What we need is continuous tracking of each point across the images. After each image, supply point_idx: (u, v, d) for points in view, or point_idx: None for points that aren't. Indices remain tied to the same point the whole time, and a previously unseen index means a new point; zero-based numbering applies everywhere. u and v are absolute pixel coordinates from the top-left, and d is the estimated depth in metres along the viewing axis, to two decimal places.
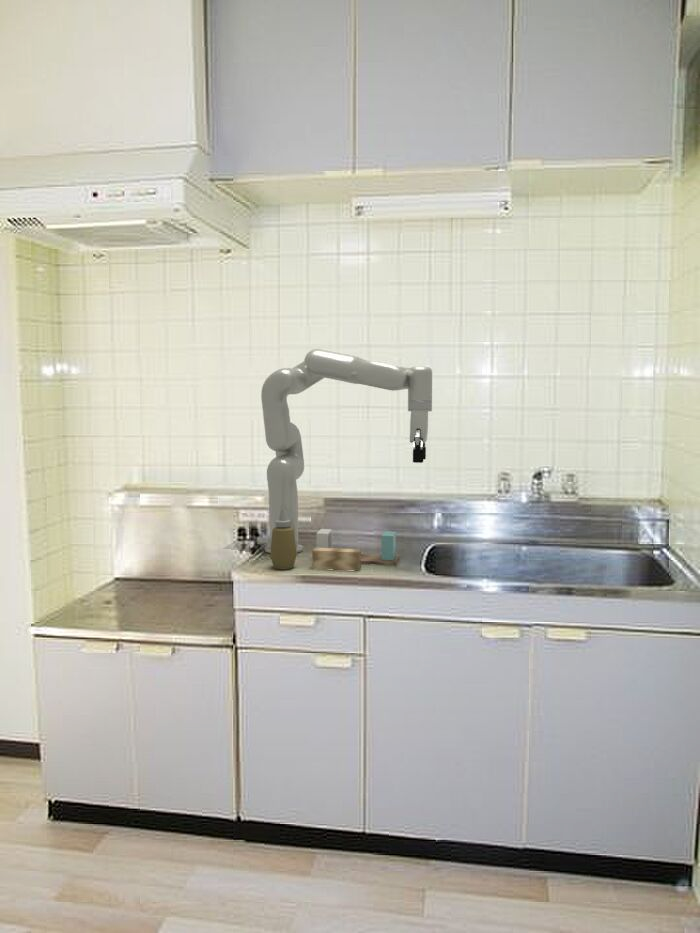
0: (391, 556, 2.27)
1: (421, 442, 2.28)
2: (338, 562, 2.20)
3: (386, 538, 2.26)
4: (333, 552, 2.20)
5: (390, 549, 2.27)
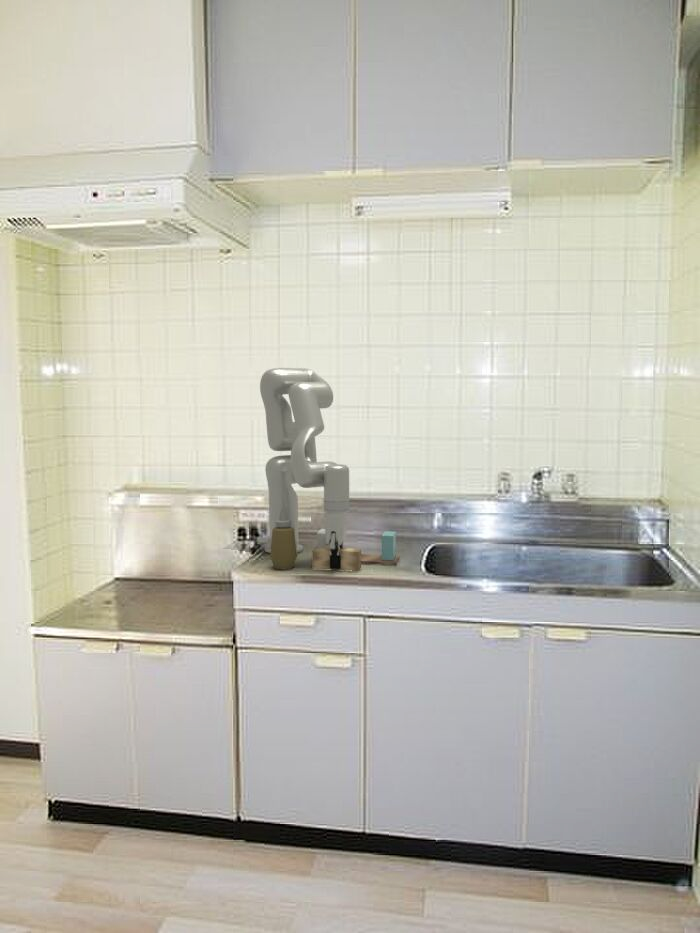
0: (391, 556, 2.27)
1: (337, 548, 2.18)
2: None
3: (386, 538, 2.26)
4: None
5: (390, 549, 2.27)
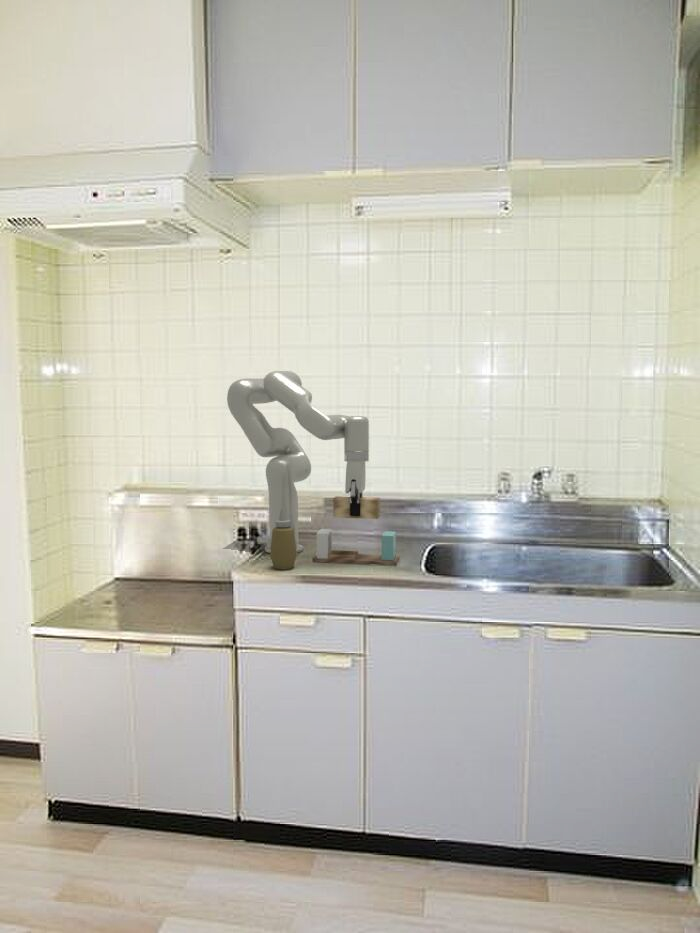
0: (391, 556, 2.27)
1: (357, 496, 2.27)
2: None
3: (386, 538, 2.26)
4: None
5: (390, 549, 2.27)
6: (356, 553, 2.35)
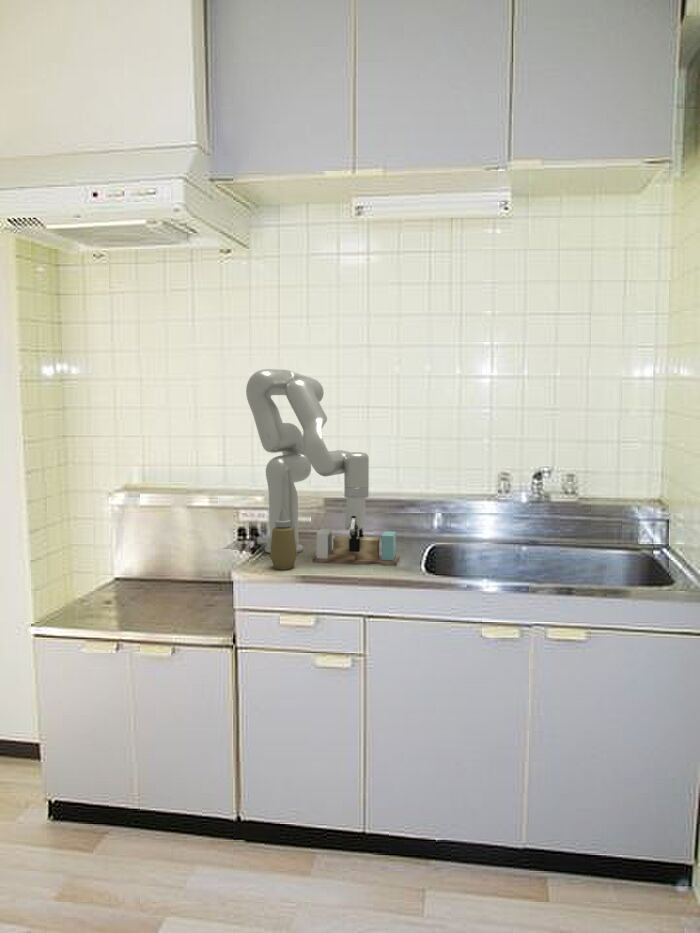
0: (391, 556, 2.27)
1: (357, 531, 2.27)
2: None
3: (386, 538, 2.26)
4: None
5: (390, 549, 2.27)
6: None
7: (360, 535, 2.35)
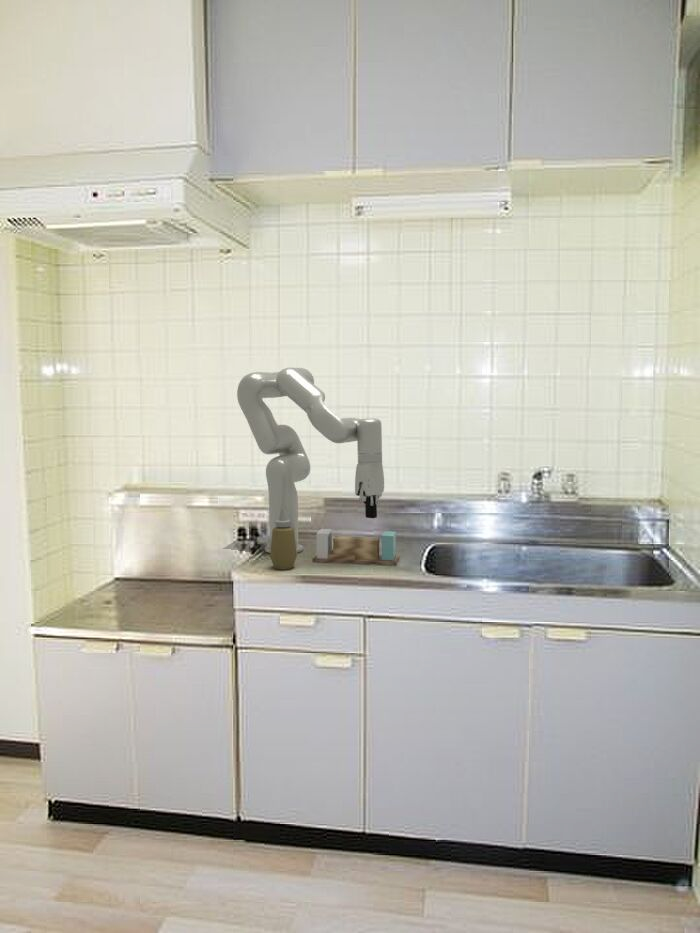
0: (391, 556, 2.27)
1: (369, 499, 2.27)
2: (358, 549, 2.30)
3: (386, 538, 2.26)
4: (353, 540, 2.30)
5: (390, 549, 2.27)
6: None
7: None
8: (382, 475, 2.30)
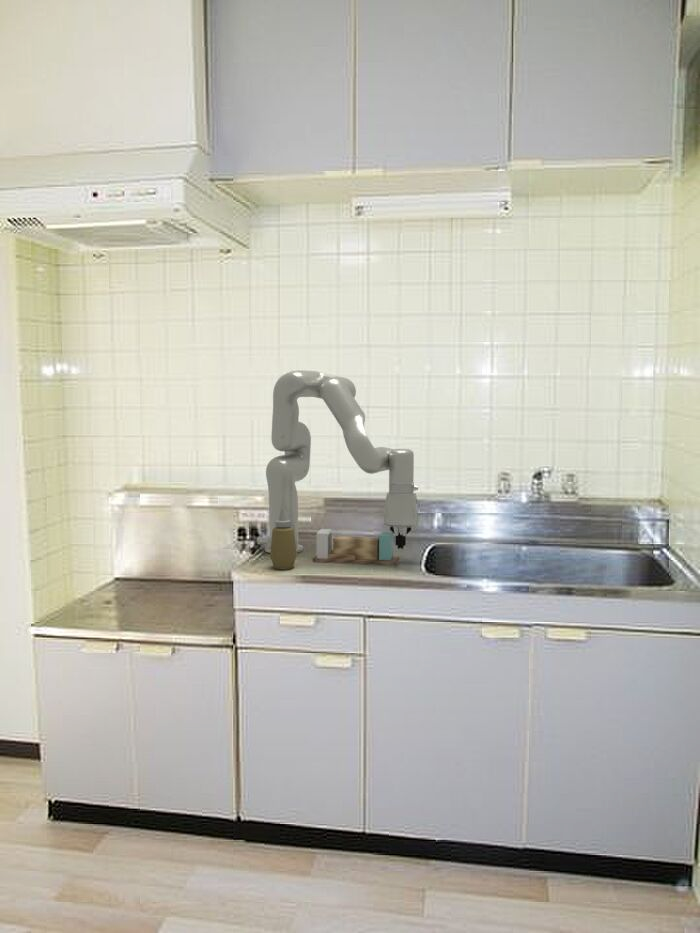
0: (388, 556, 2.27)
1: (393, 528, 2.28)
2: (358, 549, 2.30)
3: (383, 538, 2.27)
4: (353, 540, 2.30)
5: (387, 549, 2.27)
6: None
7: (400, 536, 2.28)
8: (411, 508, 2.25)
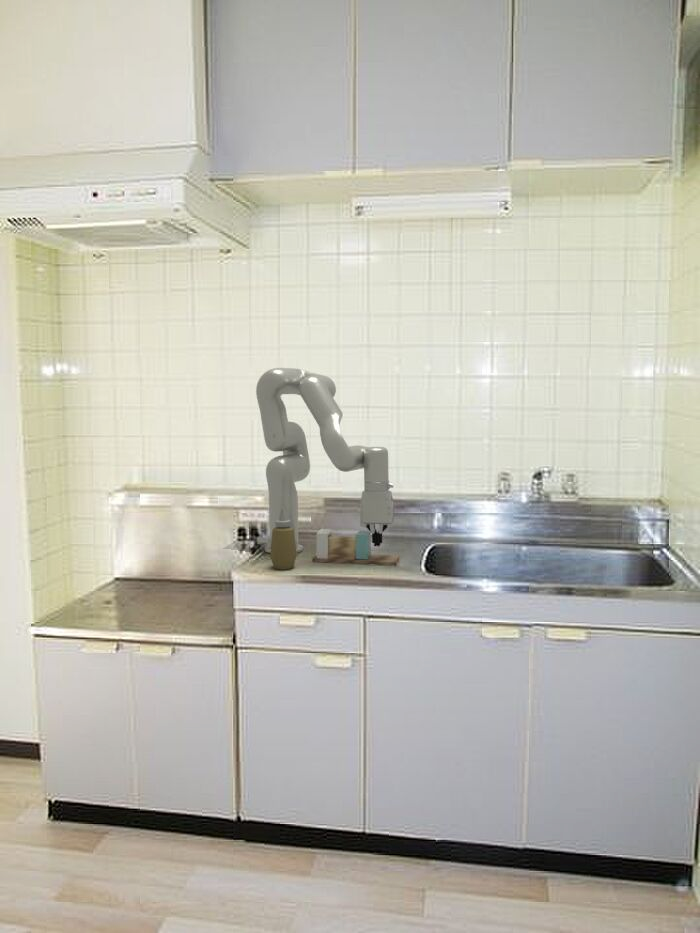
0: (365, 555, 2.28)
1: (370, 526, 2.29)
2: (346, 549, 2.31)
3: (360, 537, 2.28)
4: (341, 540, 2.31)
5: (364, 548, 2.28)
6: None
7: (377, 534, 2.30)
8: (387, 506, 2.27)
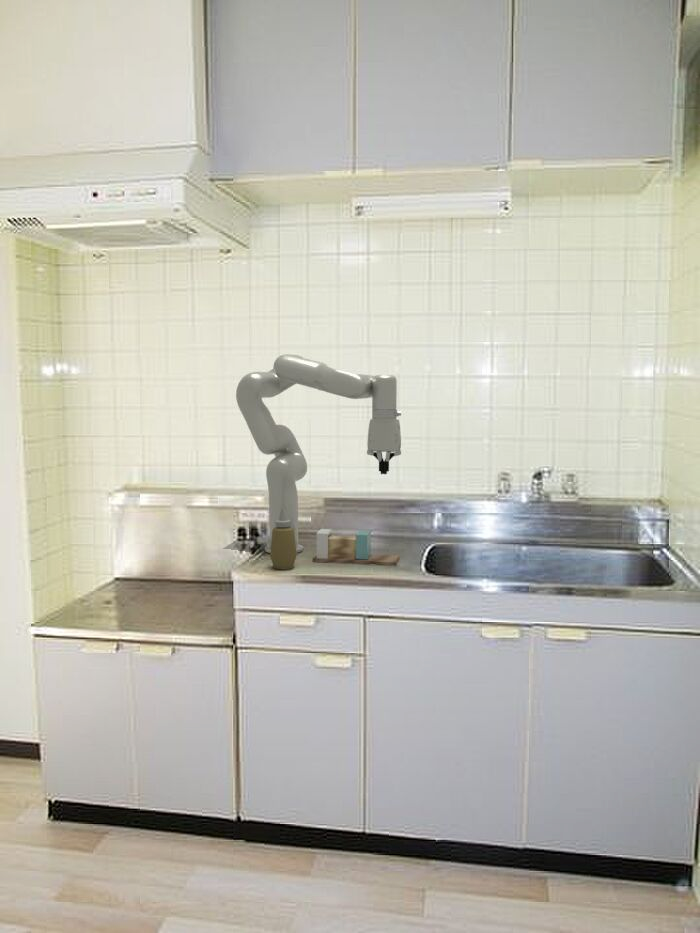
0: (365, 555, 2.28)
1: (377, 454, 2.31)
2: (346, 549, 2.31)
3: (360, 537, 2.28)
4: (341, 540, 2.31)
5: (364, 548, 2.28)
6: None
7: (384, 462, 2.31)
8: (394, 433, 2.28)
